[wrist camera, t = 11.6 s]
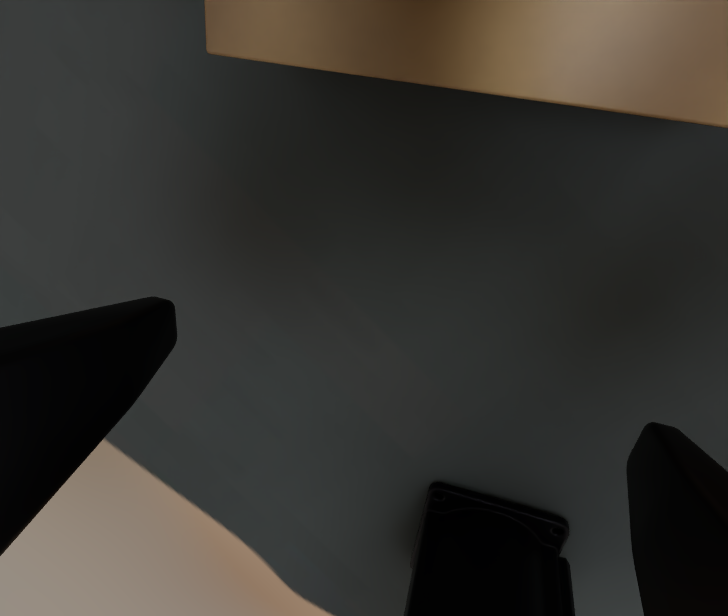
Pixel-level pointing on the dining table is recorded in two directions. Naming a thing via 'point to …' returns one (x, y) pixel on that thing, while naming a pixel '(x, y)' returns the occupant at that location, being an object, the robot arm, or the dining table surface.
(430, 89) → the dining table surface
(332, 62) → the stool
